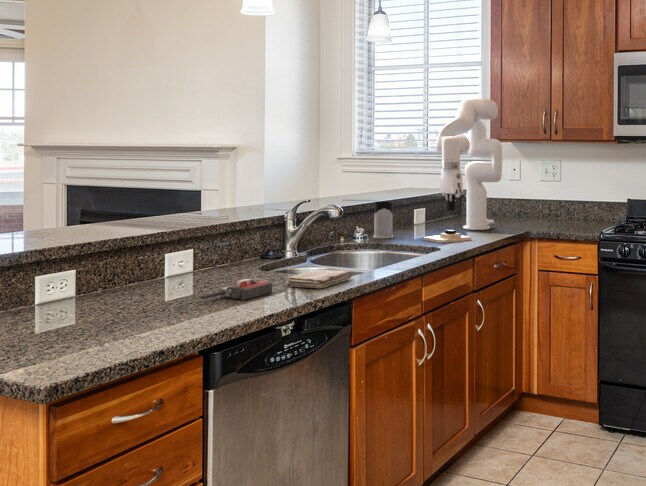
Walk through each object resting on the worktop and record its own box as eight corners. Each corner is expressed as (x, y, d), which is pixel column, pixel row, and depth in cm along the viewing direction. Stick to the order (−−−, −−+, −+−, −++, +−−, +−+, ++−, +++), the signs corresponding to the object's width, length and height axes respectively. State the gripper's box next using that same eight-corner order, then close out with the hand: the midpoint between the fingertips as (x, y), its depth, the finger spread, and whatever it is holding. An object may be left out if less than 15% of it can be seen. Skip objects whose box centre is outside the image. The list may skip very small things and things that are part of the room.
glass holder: (373, 238, 315) (373, 203, 315) (371, 234, 329) (371, 200, 329) (394, 238, 317) (394, 203, 317) (391, 234, 331) (391, 200, 331)
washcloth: (284, 286, 212) (284, 276, 212) (319, 276, 228) (319, 266, 228) (319, 290, 207) (319, 279, 207) (352, 279, 223) (352, 269, 223)
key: (451, 233, 312) (451, 229, 312) (455, 234, 309) (455, 230, 309) (445, 234, 310) (445, 230, 310) (450, 235, 307) (450, 230, 307)
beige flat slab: (452, 237, 321) (452, 230, 321) (471, 240, 312) (471, 232, 312) (423, 240, 311) (423, 233, 311) (441, 243, 302) (441, 236, 302)
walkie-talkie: (252, 288, 209) (198, 302, 191) (252, 273, 209) (198, 285, 191) (277, 292, 205) (223, 306, 187) (277, 276, 204) (223, 288, 187)
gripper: (469, 166, 307) (469, 211, 308) (446, 165, 319) (446, 208, 319) (455, 167, 302) (455, 212, 303) (432, 166, 314) (432, 209, 314)
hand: (450, 210), depth 311 cm, fingers closed
